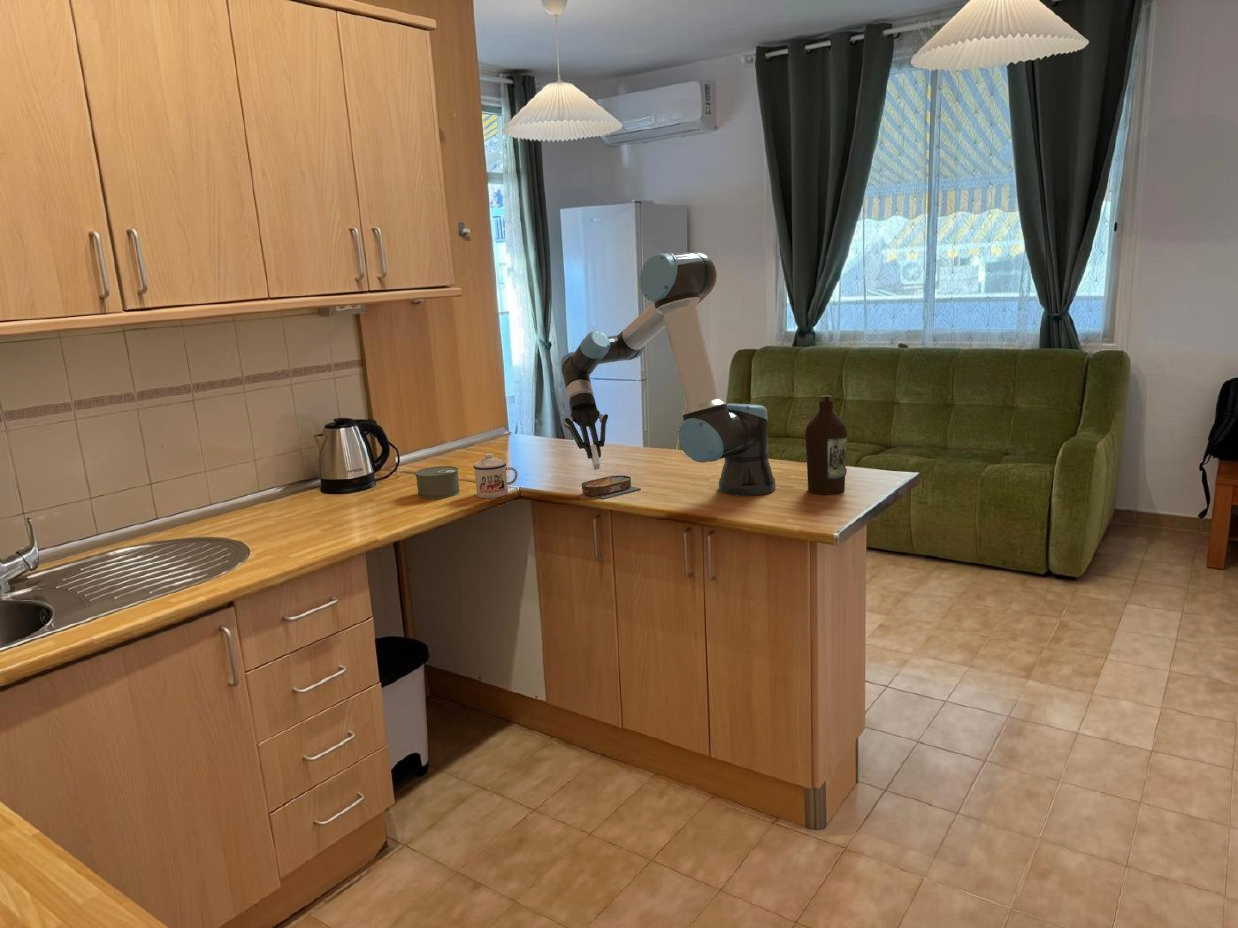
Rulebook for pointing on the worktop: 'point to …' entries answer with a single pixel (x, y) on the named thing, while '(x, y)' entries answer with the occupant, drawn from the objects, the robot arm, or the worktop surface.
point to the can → (437, 482)
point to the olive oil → (826, 450)
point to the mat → (617, 493)
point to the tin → (606, 485)
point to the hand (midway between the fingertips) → (597, 466)
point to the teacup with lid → (492, 477)
